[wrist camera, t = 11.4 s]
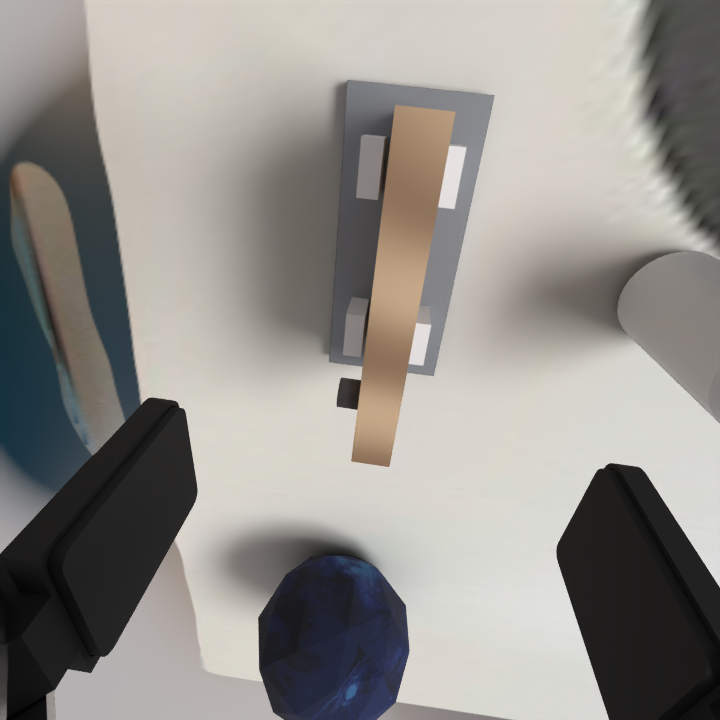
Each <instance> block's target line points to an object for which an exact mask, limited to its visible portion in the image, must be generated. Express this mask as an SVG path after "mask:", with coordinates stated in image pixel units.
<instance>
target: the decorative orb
mask: <svg viewBox="0 0 720 720" xmlns="http://www.w3.org/2000/svg"><path fill="white" fill-rule="evenodd" d="M258 623H259V670H260V673H261V676H262V679H263V682H264V685H265V688H266V691H267V694H268V697H269V700H270V703H271V706H272V710H273V712H274V713H275V714H277V715H278V716H280V717H281V718H283V719H284V720H377V719H378V718H379V717H380V716H381V715H382V714H383V713H384V712H385V711H386V710H388V709H389V708H390V707H391V706H392V705H393V704H394V703H395V702H396V699H397V695H398V692H399V688H400V684H401V681H402V677H403V673H404V670H405V666H406V662H407V659H408V655H409V640H408V628H407V615H406V605H405V604H404V602H403V601H402V600H401V599H400V597H399V596H398V595H397V593H396V592H395V591H394V589H393V588H392V587H391V585H390V584H389V583H388V581H387V580H386V579H385V577H384V576H383V575H382V574H381V572H380V571H379V570H378V569H377V568H376V567H374V566H372V565H370V564H368V563H365V562H363V561H361V560H359V559H357V558H355V557H353V556H350V555H340V556H318V557H311V558H309V559H308V560H306V561H305V562H303V563H302V564H301V565H299V566H298V567H296V568H295V569H293V570H292V571H290V572H289V573H288V574H286V576H285V577H284V579H283V580H282V582H281V583H280V585H279V586H278V588H277V590H276V591H275V593H274V594H273V596H272V597H271V599H270V600H269V602H268V604H267V605H266V607H265V608H264V610H263V611H262V613H261V614H260V616H259V618H258Z"/></svg>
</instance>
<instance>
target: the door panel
mask: <svg viewBox="0 0 720 720" xmlns="http://www.w3.org/2000/svg"><path fill="white" fill-rule="evenodd" d="M455 113H456V112H453V111H445V110H436V109H427V108H419V107H410V106H402V105H395V110H394V118H393V126H392V135H391V143H390V151H389V159H388V167H387V175H386V183H385V191H384V200H383V208H382V216H381V224H380V232H379V240H378V248H377V256H376V265H375V273H374V281H373V289H372V297H371V305H370V313H369V322H368V330H367V338H366V346H365V354H364V362H363V370H362V378H361V380H355V379H348V378H341V380H340V384H339V389H338V396H337V407H343V408H349V409H356V410H358V411H357V419H356V427H355V435H354V443H353V452H352V460H351V461H353V462H359V463H366V464H373V465H379V466H386V467H389V465H390V460H391V455H392V449H393V444H394V439H395V433H396V428H397V423H398V417H399V412H400V407H401V401H402V396H403V391H404V385H405V380H406V375H407V369H408V364H409V359H410V353H411V348H412V343H413V337H414V332H415V327H416V321H417V316H418V311H419V305H420V300H421V295H422V289H423V284H424V279H425V273H426V268H427V263H428V257H429V252H430V246H431V241H432V236H433V230H434V225H435V220H436V214H437V209H438V204H439V198H440V193H441V188H442V182H443V177H444V172H445V166H446V161H447V156H448V150H449V145H450V140H451V134H452V129H453V124H454V118H455Z"/></svg>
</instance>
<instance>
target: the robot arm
mask: <svg viewBox="0 0 720 720" xmlns="http://www.w3.org/2000/svg"><path fill="white" fill-rule="evenodd" d="M196 497H197V482H196V476H195V470H194V463H193V457H192V451H191V444H190V438H189V431H188V425H187V419H186V413H185V410H184V409H182V408H179V405H178V403H177V402H176V401H172V400H165V399H158V398H148V399H147V400H146V401H144V402H143V404H142V405H141V406H140V407H139V408H138V409H137V410H136V411H135V412H134V413H133V414H132V415H131V416H130V417H129V419H128V420H127V421H126V422H125V423H124V424H123V425H122V426H121V427H120V428H119V429H118V430H117V431H116V432H115V434H114V435H113V436H112V437H111V438H110V439H109V440H108V441H107V442H106V443H105V444H104V445H103V446H102V447H101V449H100V450H99V451H98V452H97V453H95V454H94V455H93V456H92V457H91V458H90V459H89V460H88V461H87V462H86V463H85V464H84V465H83V466H82V467H81V468H80V469H79V471H78V472H77V473H76V474H75V475H74V476H73V477H72V478H71V479H70V480H69V481H68V482H67V483H66V484H65V485H64V486H63V488H62V489H61V490H60V491H59V492H58V493H57V494H56V495H55V496H54V497H53V498H52V499H51V500H50V501H49V503H48V504H47V505H46V506H45V507H44V508H43V509H42V510H41V511H40V512H39V513H38V514H37V515H36V516H35V518H34V519H33V520H32V521H31V522H30V523H29V524H28V525H27V526H26V527H25V528H24V529H23V530H22V531H21V532H20V534H18V536H17V537H16V538H15V539H14V540H13V541H12V542H11V543H10V544H9V545H8V546H7V547H6V548H5V549H4V551H3V552H2V553H1V554H0V720H56V709H55V691H54V690H55V689H56V687H57V686H58V684H59V682H60V681H61V679H62V677H63V676H64V674H65V673H66V671H67V669H71V670H77V671H82V672H88V673H91V672H92V670H93V668H94V667H95V665H96V663H97V661H98V660H99V658H100V656H102V657H105V656H106V655H108V654H109V653H110V652H111V650H112V649H113V648H114V646H115V644H116V643H117V641H118V639H119V637H120V636H121V634H122V632H123V630H124V628H125V627H126V625H127V623H128V621H129V619H130V618H131V616H132V614H133V612H134V611H135V609H136V607H137V605H138V603H139V602H140V600H141V598H142V596H143V594H144V593H145V591H146V589H147V587H148V585H149V584H150V582H151V580H152V578H153V577H154V575H155V573H156V571H157V569H158V568H159V566H160V564H161V562H162V561H163V559H164V557H165V555H166V553H167V552H168V550H169V548H170V546H171V544H172V543H173V541H174V539H175V537H176V536H177V534H178V532H179V530H180V528H181V527H182V525H183V523H184V521H185V520H186V518H187V516H188V514H189V512H190V511H191V509H192V507H193V505H194V503H195V500H196ZM557 560H558V564H559V567H560V570H561V573H562V576H563V579H564V582H565V585H566V588H567V591H568V594H569V597H570V601H571V604H572V607H573V610H574V613H575V616H576V619H577V622H578V625H579V628H580V631H581V634H582V637H583V640H584V644H585V647H586V650H587V653H588V656H589V659H590V662H591V665H592V668H593V671H594V674H595V677H596V680H597V683H598V687H599V690H600V693H601V696H602V699H603V702H604V705H605V708H606V711H607V714H608V717H609V720H720V587H719V586H718V584H717V583H716V581H715V580H714V578H713V576H712V575H711V573H710V572H709V570H708V569H707V567H706V566H705V564H704V563H703V561H702V560H701V558H700V556H699V555H698V553H697V552H696V550H695V549H694V547H693V546H692V544H691V543H690V541H689V540H688V538H687V536H686V535H685V533H684V532H683V530H682V529H681V527H680V526H679V524H678V523H677V521H676V520H675V518H674V516H673V515H672V513H671V512H670V510H669V509H668V507H667V506H666V504H665V503H664V501H663V500H662V498H661V496H660V495H659V493H658V492H657V490H656V489H655V487H654V486H653V484H652V483H651V481H650V480H649V478H648V476H647V475H646V473H645V472H644V471H643V470H642V469H641V468H639V467H635V466H628V465H621V464H614V463H610V464H608V465H606V467H605V468H604V469H599V470H598V471H597V472H596V474H595V475H594V477H593V479H592V481H591V483H590V485H589V487H588V488H587V490H586V492H585V494H584V496H583V498H582V500H581V502H580V503H579V505H578V507H577V509H576V511H575V513H574V515H573V516H572V518H571V520H570V522H569V524H568V526H567V528H566V529H565V531H564V533H563V535H562V537H561V539H560V541H559V543H558V545H557Z"/></svg>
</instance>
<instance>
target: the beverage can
mask: <svg viewBox="0 0 720 720" xmlns="http://www.w3.org/2000/svg"><path fill="white" fill-rule="evenodd" d="M617 314H618V320H619V322H620V324H621V326H622V328H623V329H624V331H625V332H626V333H627V334H628V335H629V336H630V337H631V338H632V339H633V340H634V341H635V342H636V343H637V344H638V345H639V346H640V347H641V348H642V349H643V350H644V351H645V352H646V353H647V354H649V355H650V356H651V357H652V358H653V359H654V360H655V361H656V362H657V363H658V364H659V365H660V366H661V367H662V368H663V369H664V370H665V371H666V372H667V373H668V374H669V375H670V376H671V377H672V378H673V379H674V380H675V381H676V382H677V383H679V384H680V385H681V386H682V387H683V388H684V389H685V390H686V391H687V392H688V393H689V394H690V395H691V396H692V397H693V398H694V399H695V400H696V401H697V402H698V403H699V404H700V405H701V406H702V407H703V408H704V409H705V410H706V411H707V412H709V413H710V414H711V415H712V416H713V417H714V418H715V419H716V420H717V421H718V422H719V423H720V260H719V259H717V258H714V257H712V256H710V255H707V254H704V253H701V252H694V251H683V252H675V253H671V254H667V255H664V256H662V257H659V258H657V259H655V260H653V261H651V262H650V263H648V264H646V265H645V266H644V267H642V268H641V269H640V270H638V271H637V272H636V273H635V274H634V275H633V276H632V277H631V278H630V280H629V281H628V282H627V284H626V285H625V287H624V288H623V290H622V292H621V295H620V297H619V301H618V306H617Z"/></svg>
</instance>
